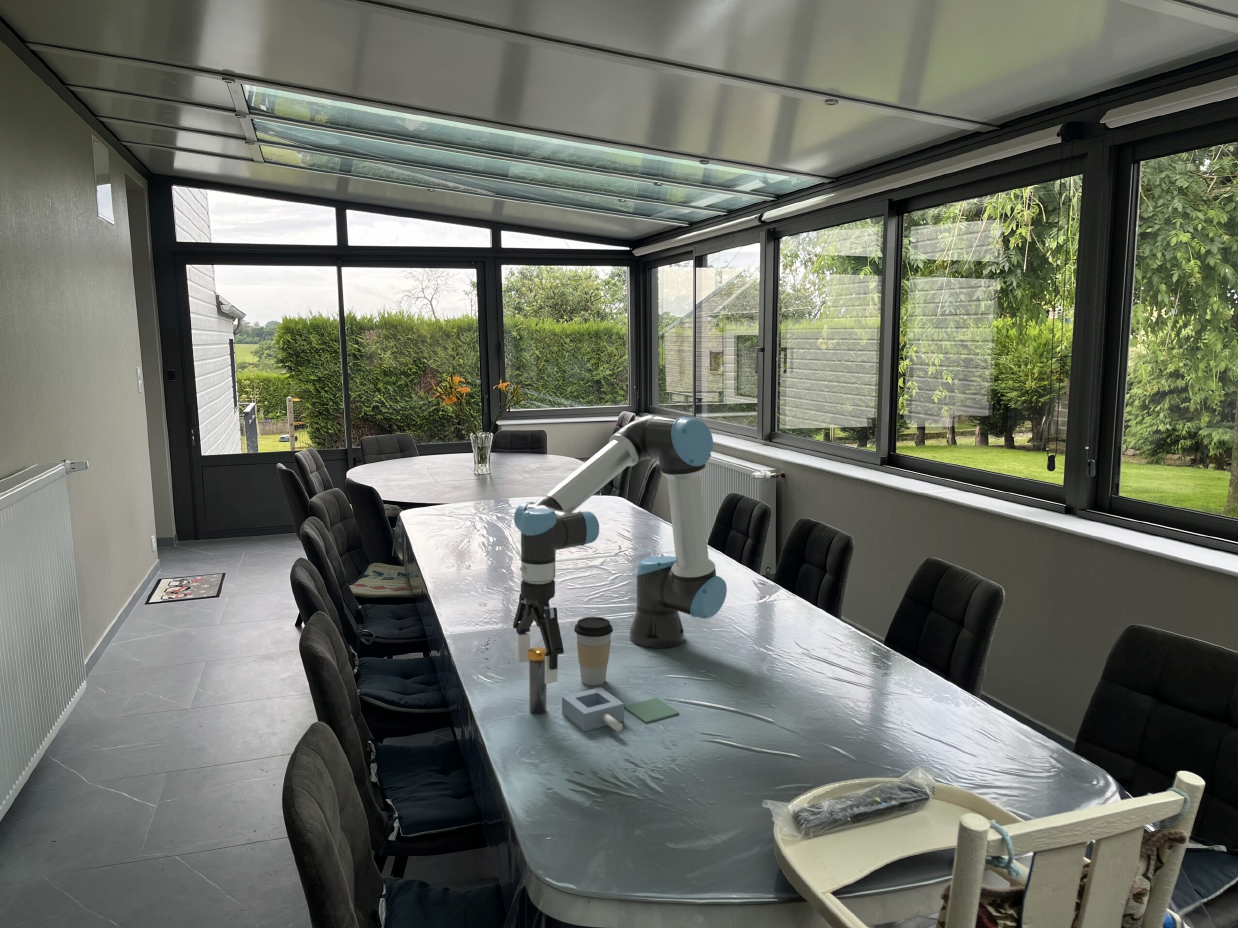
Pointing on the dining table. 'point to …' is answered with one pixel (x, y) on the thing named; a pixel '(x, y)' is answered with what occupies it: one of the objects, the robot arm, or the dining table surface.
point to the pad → (651, 710)
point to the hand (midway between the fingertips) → (536, 671)
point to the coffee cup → (593, 648)
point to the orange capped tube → (537, 680)
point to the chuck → (593, 709)
